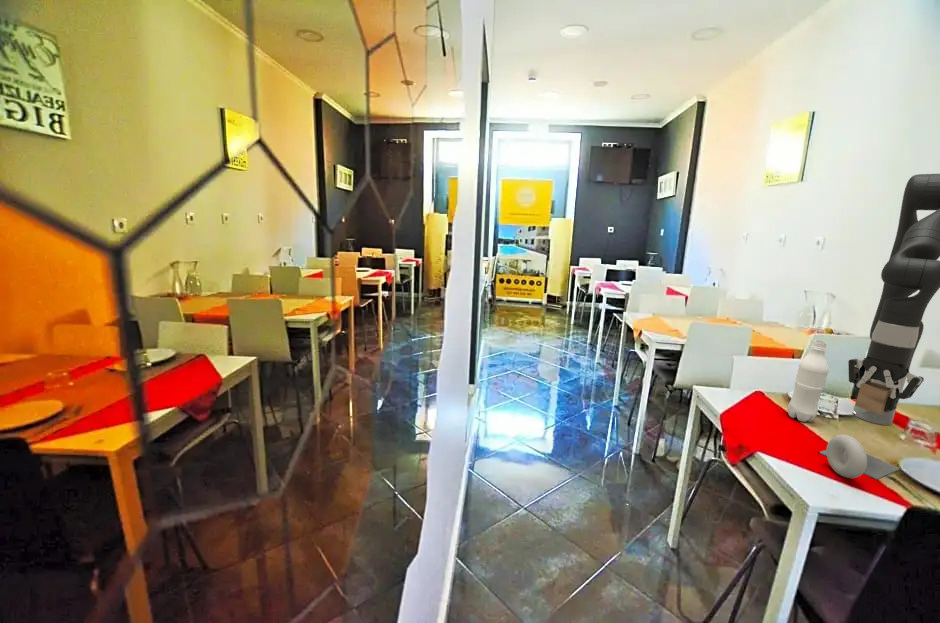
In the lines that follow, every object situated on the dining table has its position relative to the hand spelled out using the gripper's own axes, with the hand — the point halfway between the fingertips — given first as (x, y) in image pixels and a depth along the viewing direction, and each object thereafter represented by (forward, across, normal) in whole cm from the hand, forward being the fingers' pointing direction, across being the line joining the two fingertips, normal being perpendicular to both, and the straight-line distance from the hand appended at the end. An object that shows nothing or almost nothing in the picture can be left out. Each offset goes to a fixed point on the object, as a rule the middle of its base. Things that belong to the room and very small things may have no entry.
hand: (873, 405), depth 106 cm
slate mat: (+15, 0, 0) cm, 15 cm away
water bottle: (+15, +20, -12) cm, 28 cm away
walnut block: (+1, 0, 0) cm, 1 cm away
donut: (+15, -2, +12) cm, 20 cm away
